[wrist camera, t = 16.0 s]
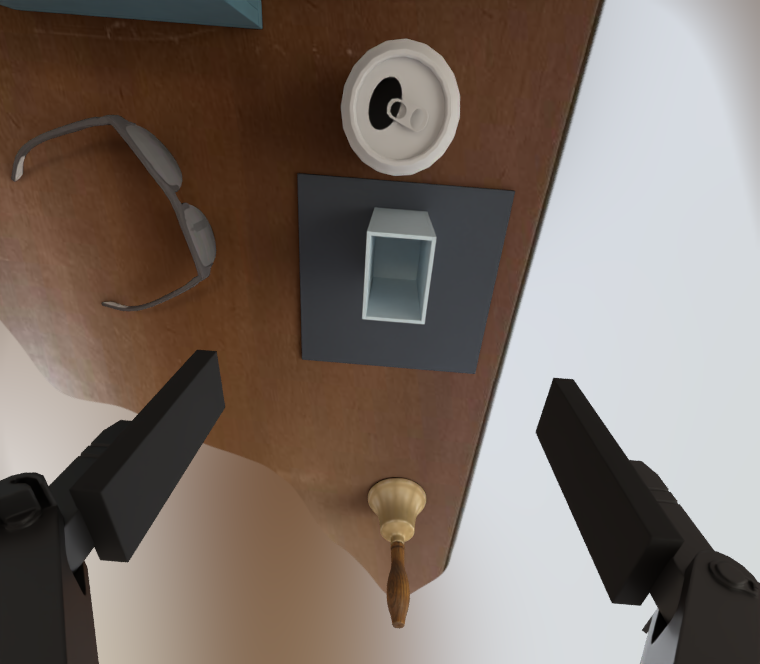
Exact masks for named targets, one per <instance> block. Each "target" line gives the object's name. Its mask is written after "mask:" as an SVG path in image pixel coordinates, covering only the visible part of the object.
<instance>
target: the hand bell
mask: <svg viewBox="0 0 760 664" xmlns="http://www.w3.org/2000/svg"><path fill="white" fill-rule="evenodd" d="M368 503H369V505H370V507H371V509H372V510H373V512H375V513H376V514H377V515H378V518H379V523H380V532H381V535H382V536H383V538H384V539H386V540H387V541H390V542H391V560H392V564H391V571H390V574H389V577H388V583H387V604H388V608H389V612H390V615H391V619H392V625H393V627H395V628H403V627H404V624H405V618H406V615H407V611H408V607H409V600H410V593H409V583H408V578H407V575H406V572H405V567H404V542H406V541H408V540H409V539H411V537H412V536H413V534H414V528H415V520H416V516H417V515H418V514H419V513H420V512H421V511H422V510H423V508H424V506H425V503H426V494H425V492H424V490H423V489H422V488H421V487H420V486H419V485H418V484H417V483H415V482H413V481H411V480H408V479H404V478H389V479H385V480H382V481H380V482H378V483H377V484H375V485H374V486H373V487H372V488H371V489H370V491H369V493H368Z"/></svg>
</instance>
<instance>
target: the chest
mask: <svg viewBox="0 0 760 664" xmlns="http://www.w3.org/2000/svg"><path fill="white" fill-rule="evenodd" d="M0 5H2V6H6V7H9V8H12V9H15V10H25V11H38V12H50V13H63V14H76V15H88V16H101V17H114V18H126V19H139V20H152V21H164V22H177V23H190V24H202V25H215V26H227V27H240V28H253V29H262V28H263V27H262V9H261V0H0Z"/></svg>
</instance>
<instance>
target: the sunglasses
mask: <svg viewBox="0 0 760 664" xmlns="http://www.w3.org/2000/svg"><path fill="white" fill-rule="evenodd" d="M100 125H112V126H113V127H114V128H115V129H116V130H117V132H118V133H119V134H120V135H121V137H122V138H123V139H124V140H125V142H126V143H127V144H128V145H129V147H130V148H131V149H132V150H133V152H134V153H135V154H136V156H137V157H138V158H139V160H140V161H141V162H142V164H143V165H144V166H145V168H146V169H147V170H148V172H149V173H150V174H151V176H152V177H153V178H154V179H155V181H156V182H157V183H158V185H159V186H160V187H161V188H162V190H163V191H164V193H165V194H166V196H167V197H168V199H169V200H170V202H171V204H172V207H173V209H174V211H175V213H176V216H177V218H178V221H179V224H180V226H181V229H182V231H183V234H184V236H185V239H186V242H187V244H188V247H189V249H190V252H191V254H192V257H193V260H194V263H195V266H196V269H197V272H198V276H196V277H194V278H193V279H192V280H191V281H190V282H189V283H187V284H186V285H185V286H183V287H181V288H179V289H177V290H175V291H173V292H171V293H169V294H167V295H165V296H163V297H161V298H159V299H157V300H155V301H152V302H150V303H147V304H143V305H139V306H124V305H121V304H118V303H115V302H102V305H103V306H106V307H110V308H113V309H117V310H122V311H138V310H142V309H146V308H149V307H152V306H155V305H157V304H160V303H162V302H165V301H167V300H169V299H171V298H173V297H175V296H177V295H179V294H181V293H183V292H185V291H187V290H189V289H191V288H192V287H194V286H196V285H197V284H198V283H199V282H200V281H202V280H204V279H206V278H207V277H208V276H209V275H210V269H211V266H212V265H213V261H214V259H215V256H216V244H215V238H214V235H213V231H212V229H211V226H210V224H209V222H208V220H207V219H206V217H205V215H204V214H203V213H202V212H201V211H200V210H199V209H197V208H196V207H194V206H192V205H189V204H188V203H182V204H181V203H180V201H179V200H178V198H177V196H176V194H175V192H177V191H178V190H180V186H181V183H182V174H181V171H180V168H179V166H178V164H177V162H176V160H175V159H174V158H173V156H172V155H171V153H170V152H169V151H168V149H167V148H166V147H165V146H164V145H163V144H162V143H161V142H160V141H159V140H158V139H157V138H156V137H155V136H154V135H153V134H152V133H150V132H149V131H148V130H146V129H144V128H142V127H140V126H137V125H136V124H135V123H132V122H129V121H127V120H125V119H124V118H122V117H121V116H119V115H106V116H103V117H93V118H88V119H84V120H81V121H77V122H74V123H71V124H68V125H65V126H62V127H59V128H56V129H53V130H51V131H48V132H46V133H43V134H41V135H39V136H37V137H35V138H33V139H31V140H30V141H28V142H27V143H26V144H24V145H23V146H22V147H21V148H20V149H19V151H18V153H17V155H16V157H15V161H14V164H13V171H12V177H11V179H12V180H13V181H17V180H18V179H19V178H20V177H21V176H22V174H23V163H24V158H25V157H26V155H27V153H28V152H29V151H30V150H31V149H32V148H34V147H35V146H36V145H38V144H40V143H42V142H44V141H47V140H49V139H52V138H55V137H58V136H61V135H65V134H69V133H72V132H76V131H79V130H82V129H85V128H88V127H93V126H100Z"/></svg>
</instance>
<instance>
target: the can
mask: <svg viewBox="0 0 760 664" xmlns="http://www.w3.org/2000/svg"><path fill="white" fill-rule="evenodd" d="M341 113H342V122H343V129H344V131H345V134H346V136H347V139H348V141H349V144H350V146H351V148H352V149H353V150H354V151H355V153H356V154H357V155H358V156H359V158H360V159H361V160H362V161H363V162H364V163H366V164H367V165H369V166H370V167H372V168H373V169H375V170H376V171H378V172H381V173H385V174H389V175H393V176H400V175H412V174H414V173H417V172H419V171H421V170H424V169H426V168H428V167H430V166H431V165H432V164H433V163H434V162H435V161H436V160H438V159H439V158H440V157H441V156H442V155H443V154H444V152H445V151H446V149H447V148H448V146H449V144H450V143H451V141H452V140H453V138H454V135H455V132H456V128H457V125H458V121H459V118H460V94H459V90H458V87H457V83H456V80H455V76H454V74H453V72H452V71H451V69H450V68H449V66H448V64H447V63H446V61H445V60H444V58H443V57H442V56H441V55H440V54H438V53H437V52H436V51H434V50H433V49H432V48H430V47H429V46H428V45H426V44H424V43H420V42H417V41H413V40H410V39H398V40H389V41H385V42H383V43H381V44H379V45H378V46H376V47H374V48H372V49H370V50H368V51H367V52H366V53H365V54H364V55H363V57H362V58H361V59H360V60H359V61H358V62H357V63H356V64H355V65H354V66H353V68H352V71H351V73H350V75H349V77H348V79H347V81H346V83H345V85H344V91H343V97H342V103H341Z"/></svg>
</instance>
